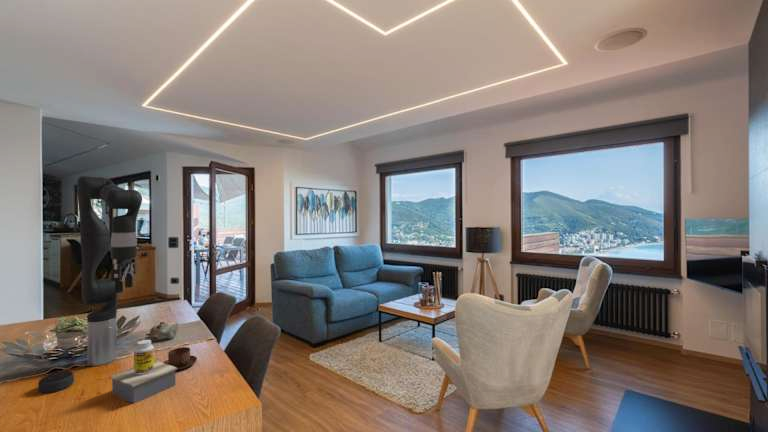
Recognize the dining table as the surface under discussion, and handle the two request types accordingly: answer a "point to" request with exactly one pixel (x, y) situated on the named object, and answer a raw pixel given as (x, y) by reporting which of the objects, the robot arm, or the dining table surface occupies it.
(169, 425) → the dining table surface
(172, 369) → the plinth
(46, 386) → the smart speaker
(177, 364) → the cup and saucer
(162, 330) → the ceramic sculpture
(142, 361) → the supplement bottle
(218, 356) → the dining table surface
